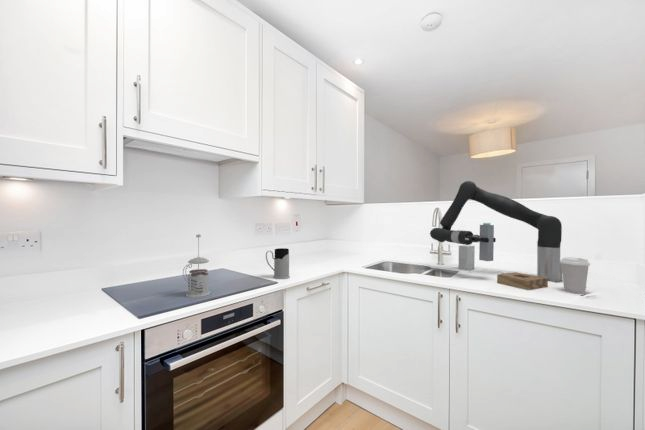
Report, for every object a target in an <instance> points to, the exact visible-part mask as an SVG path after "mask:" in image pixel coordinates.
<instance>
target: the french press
mask: <svg viewBox="0 0 645 430" xmlns="http://www.w3.org/2000/svg"><path fill="white" fill-rule="evenodd" d="M195 237H196V238H198V239H197V240H198V245H197V248H198V249H197V251H198V253H197V255H198V256H196V257H194V258H192V259H190V260H188V261H187V263H188V264H186V265H185V266H184V268H183V269H182V272H184V271H185V276H184V273H182V277H183V279H184V281H185V282H187V287H188V288H187V289H188V290H187V293H186V294H185V297H187V298H201V297H206V296H208V295H210V293H212V292H211V291H210V290H209V272H208V269H205V268H202V269H200V265H201V264H207V263H209V262H210V261H209V260H208V259H207V258H205V257H200V238H201V237H202V235H201V234H196V236H195ZM194 264H195V265H196V264H197V266H198V267H197V268H196V269H192V266H193V265H194ZM190 265H191V266H190ZM188 268H190V269H192V270H189V271H188V272H189V274H188V275H187V269H188ZM185 277H186V278H185Z"/></svg>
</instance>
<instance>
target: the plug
mask: <svg viewBox="0 0 645 430" xmlns="http://www.w3.org/2000/svg"><path fill="white" fill-rule="evenodd" d="M494 233H495V227H494V225H493V224H491V222H482V224H479V235H480V237H481V238H489V242H488V243H487V242H479V247H478V249H479V250H478V251H479V253H478V255H479V258H478V259H479V261H483V262H484V261H485V262H494V243H495V242H494V238H495V234H494Z"/></svg>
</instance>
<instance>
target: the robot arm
mask: <svg viewBox="0 0 645 430" xmlns="http://www.w3.org/2000/svg"><path fill="white" fill-rule="evenodd" d="M469 200H472V201H475V202H477V203H480V204H482V205H484V206H486V207H487V208H489V209H491V210H493V211H495V212H496V213H499V214H501V215H503V216H506V217H509V218H511V219H514V220H517V221H520V222H523V223H525V224H527V225H530V226H531V227H533V228H535V229H537V230H538V232H537V241H536V242H537V243H536V244H537V245H536V246H537V247H536V253H537V255H536V257H537V258H536V259H537V260H536V261H537V262H536V265H537V266H536V267H537V268H536V272H537V273H536V276H539V277H545V278H548V282H550V283H559V282H560V281H562V282H563V273H562V264H561V263H560V261H561V243H562V233H563V232H562V231H563V229H562V221H561V220H560V219H559V218H558V217H556V216H553V215H546V214H544V213H540V212H538V211H534V210H533V209H530V208H529V207H527V206H525V205H524V204H522V203H520V202H518V201H517V200H514V199H512V198H509V197H508V196H507V197H506V196H505V195H501V194H498V193H494V192H489V191H486V190H484V189H483V188H480V187H479V186H477V185H476V183H475V182H474V181H472V180H466V181H464V182H462V183H461V184H460V185H459V188H458V191H457V193H456V195H455V197H454V199H453V201H452V203H451V204H450V206H448V207H449V208H448V209H447V211H446V212H445V214H444V215H443V217H441V220H440V222H439V224H440V225H441V227H434V228H432V229H431V230H430V232H429V235H430V237H431V239H433V240H435V241H437V242H439V243H444V242H448V243H455V244H458V245H459V244H460V245H472V244H473V243H480V242H487V243H488V242H489V238H481V237H480V234H474V233H473V232H472V231H470V230H458V229H457V230H455V229H454V230H453V229H452V227H453V225H455V223H456V221H457V219H458V217H459V216H460V214H461V212H462V210H463V207H464V206H465V204H467V202H468V201H469ZM496 241H497V240H496V237H494V243H496Z"/></svg>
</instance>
